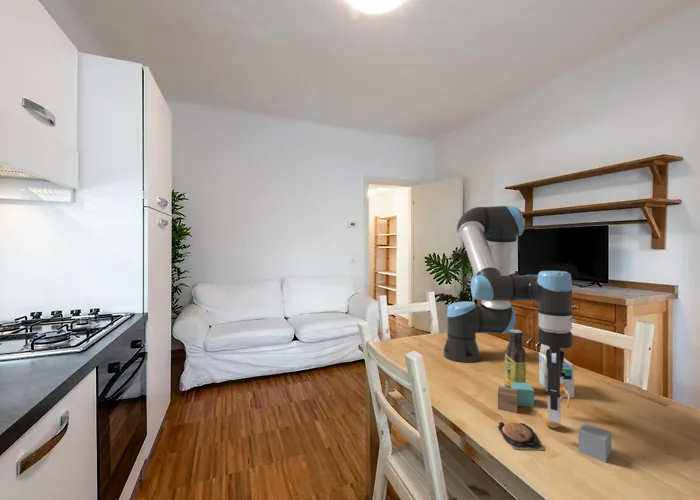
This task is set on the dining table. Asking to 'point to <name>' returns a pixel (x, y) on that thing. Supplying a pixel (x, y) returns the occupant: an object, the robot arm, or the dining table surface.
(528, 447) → the bread roll
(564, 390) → the figurine
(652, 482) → the dining table surface
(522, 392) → the teal painted cube
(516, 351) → the sauce bottle
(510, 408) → the walnut cube
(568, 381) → the light bulb box
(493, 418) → the dining table surface
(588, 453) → the slate grey cube
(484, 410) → the dining table surface
